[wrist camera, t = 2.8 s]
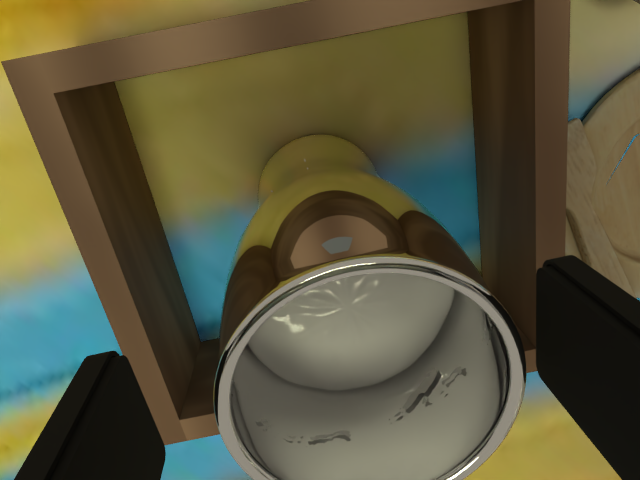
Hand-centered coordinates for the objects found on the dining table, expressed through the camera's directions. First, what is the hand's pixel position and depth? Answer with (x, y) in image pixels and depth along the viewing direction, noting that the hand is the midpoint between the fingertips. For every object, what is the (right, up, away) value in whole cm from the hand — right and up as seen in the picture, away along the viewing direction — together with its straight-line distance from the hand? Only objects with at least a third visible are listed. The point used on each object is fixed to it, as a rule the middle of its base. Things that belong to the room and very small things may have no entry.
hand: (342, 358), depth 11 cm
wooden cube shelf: (-1, +5, +13) cm, 14 cm away
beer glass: (-1, +5, +13) cm, 14 cm away
